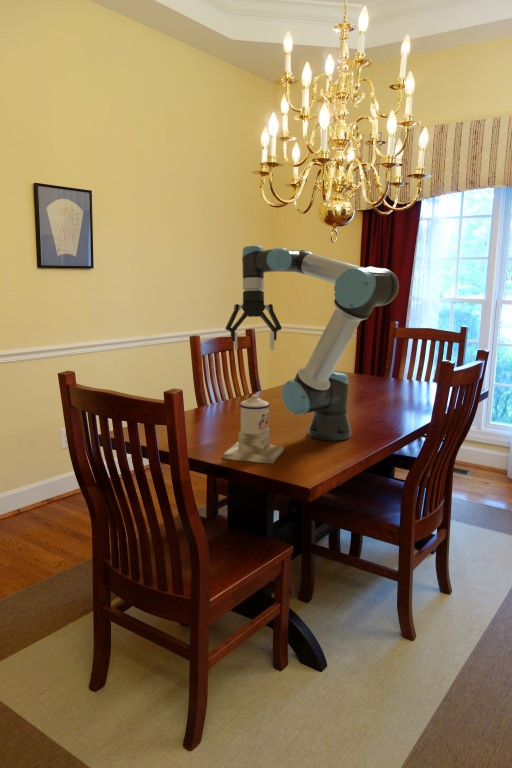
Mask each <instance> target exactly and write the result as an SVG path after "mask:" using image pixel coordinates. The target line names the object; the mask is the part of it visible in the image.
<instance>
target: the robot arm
mask: <svg viewBox="0 0 512 768" xmlns="http://www.w3.org/2000/svg"><path fill="white" fill-rule="evenodd" d="M241 257H242V258H241V260H242V261H241V263H242V290H243V292H242V304H238V303H235V304H234V305H233V306H234V307H233V312H232V314H231V316H230V317H229V320H228V321H227V324H226V326H225V330H226V331H229V332H230V340H231V342H233V351H234V352H236V351H238V331H237V329H238V328H239V327H240V326H241V325H242V323H243V322H244V320H245V319H246V318H253V317H255V318H258V317H260V319H262V320H263V322H264V323H265V324H266V325H267V327H268V328H269V329H270V330H271V331H269V350H270V351H275V341H277V332H278V331H280V330H282V326H281V324H280V321H279V320H278V317H277V316H276V313H275V310H274V307H273V304H272V303H270V304H265V295H264V294H265V291H263V290H264V289H265V280H264V277H265V273H272V272H277V273H279V272H285V273H291V272H293V273H298V274H299V273H300V274H302V275H305V276H309V277H313V278H315V279H320V280H323V281H326V282H329V283H332V284H334V286H333V291H334V294H333V295H334V300H333V304H334V307H335V309H334V311H333V313H332V314H331V316H330V319H329V321H328V322H327V325H326V327H325V328H324V331H323V333H322V334H321V337H320V338H319V340H318V342H317V344H316V346H315V348H314V350H313V352H312V354H311V355H310V358H309V360H308V361H307V363H306V366H304V367H300V368H299V369H298V370H297V373H296V375H295V377H294V378H293V379H290V380H288V381H286V382H285V383H284V384H283V387H282V389H281V398H282V402H283V404H284V406H285V408H286V409H287V410H288V411H289V412H290V413H291V414H293V415H306V414H308V413H313V416H312V418H311V421H310V423H309V426H308V436H309V437H310V438H313V439H315V440H321V441H328V442H329V441H333V442H337V441H345V440H349V439H350V438H351V437H352V428H351V425H350V424H351V423H350V421H349V418H348V394H349V393H348V392H349V389H348V388H349V377H348V375H347V374H346V373H343V372H339V371H334V370H335V369H336V367H337V365H338V363H339V361H340V359H341V358H342V355H343V354H344V353H345V350H346V348H347V346H348V345H349V343H350V341H351V339H352V338H353V335H354V334H355V333H356V330H357V328H358V326H359V325H360V323H361V322H362V321H364V320H367V319H368V318H369V317H370V315H371V313H372V312H373V310H374V308H375V307H382V306H383V307H384V306H386V305H388V304H390V303H391V302H392V301H394V300H395V298H396V297H397V296H398V293H399V290H400V289H399V288H400V283H399V280H398V279H399V278H398V277H397V275H396V274H395V273H394V272H393V271H391V270H390V269H387V268H383V267H375V266H370V265H369V266H367V267H364V266H359V265H356V264H352V263H348V262H344V261H342V260H337V259H332V258H330V257H325V256H322V255H318V254H314V253H312V252H311V251H309V250H303V249H301V250H299V249H298V250H294V249H293V250H292V249H287V248H285V247H275V248H271V249H267V250H264V248H263V246H262V245H247V246H244V247H243V248H242V256H241ZM241 309H242V311H243V313H242V314H241V316H240V317H239V319H238V320H237V321H236V322H235V319H236V318H237V316H238V314H239V311H241ZM264 310H266V311H267V312H268V314H269V316H270V318H271V320H272V322H273V323H272V322H271V320H270V319H269V318H268V317H267V315H266V313H265V312H264ZM234 322H235V323H234ZM233 324H234V325H233Z"/></svg>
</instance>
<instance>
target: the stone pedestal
mask: <svg viewBox="0 0 512 768" xmlns="http://www.w3.org/2000/svg"><path fill="white" fill-rule="evenodd" d="M284 452H285V446H284V445H275V444H271V427H268V432H266V433H264V434H258V435H251V434H245V433H243V432H241V430H240V431H238V441H237V442H236V443H234V444H233V445H232V446H230V447H229V449H228V450H226V451H225V452H224V453H223V454H222V458H223V459H225V460H233V461H241V462H243V461H245V462H253V463H262V464H263V463H264V464H272V465H273V464H274V463H275V462H276V461H277V460H278V459H279V457H280V456H281V455H282V454H283V453H284Z"/></svg>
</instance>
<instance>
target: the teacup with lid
mask: <svg viewBox="0 0 512 768" xmlns="http://www.w3.org/2000/svg"><path fill="white" fill-rule="evenodd" d="M239 406H240V431H241V432H243V433H245V434H251V435H258V434H264V433H266V432H268V428H269V407H270V403H269V402H268V401H266V400H263V399H262V398H260V397H259V396H258V394H251V397H249V398H248V399H246V400H242V401H241V402H240V404H239Z"/></svg>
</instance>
